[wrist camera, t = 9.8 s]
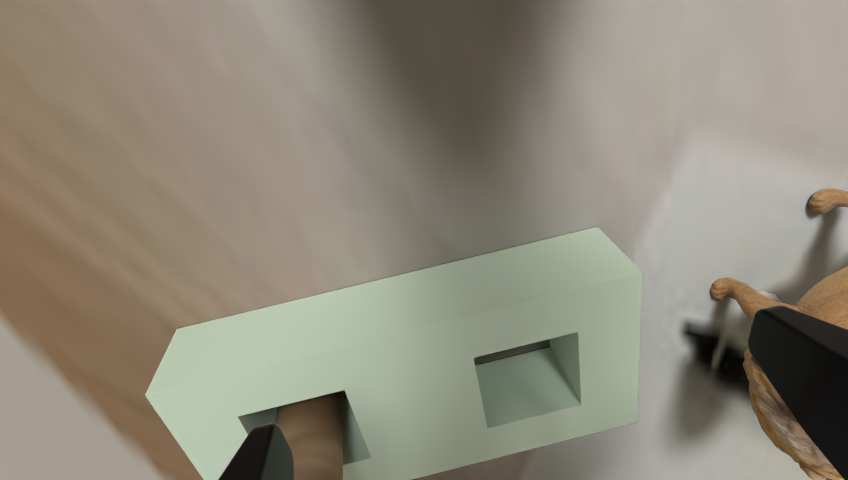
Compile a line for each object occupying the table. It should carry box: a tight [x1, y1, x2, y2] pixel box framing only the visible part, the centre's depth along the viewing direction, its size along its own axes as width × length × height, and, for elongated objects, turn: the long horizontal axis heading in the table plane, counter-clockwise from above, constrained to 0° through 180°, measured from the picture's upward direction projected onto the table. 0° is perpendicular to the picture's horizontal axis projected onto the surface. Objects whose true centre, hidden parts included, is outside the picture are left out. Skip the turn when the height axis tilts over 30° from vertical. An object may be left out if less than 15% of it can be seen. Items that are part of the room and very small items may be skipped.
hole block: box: [145, 227, 643, 480], centre depth 23 cm, size 20×9×4 cm, turn 101°
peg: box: [275, 390, 344, 480], centre depth 20 cm, size 3×3×10 cm
